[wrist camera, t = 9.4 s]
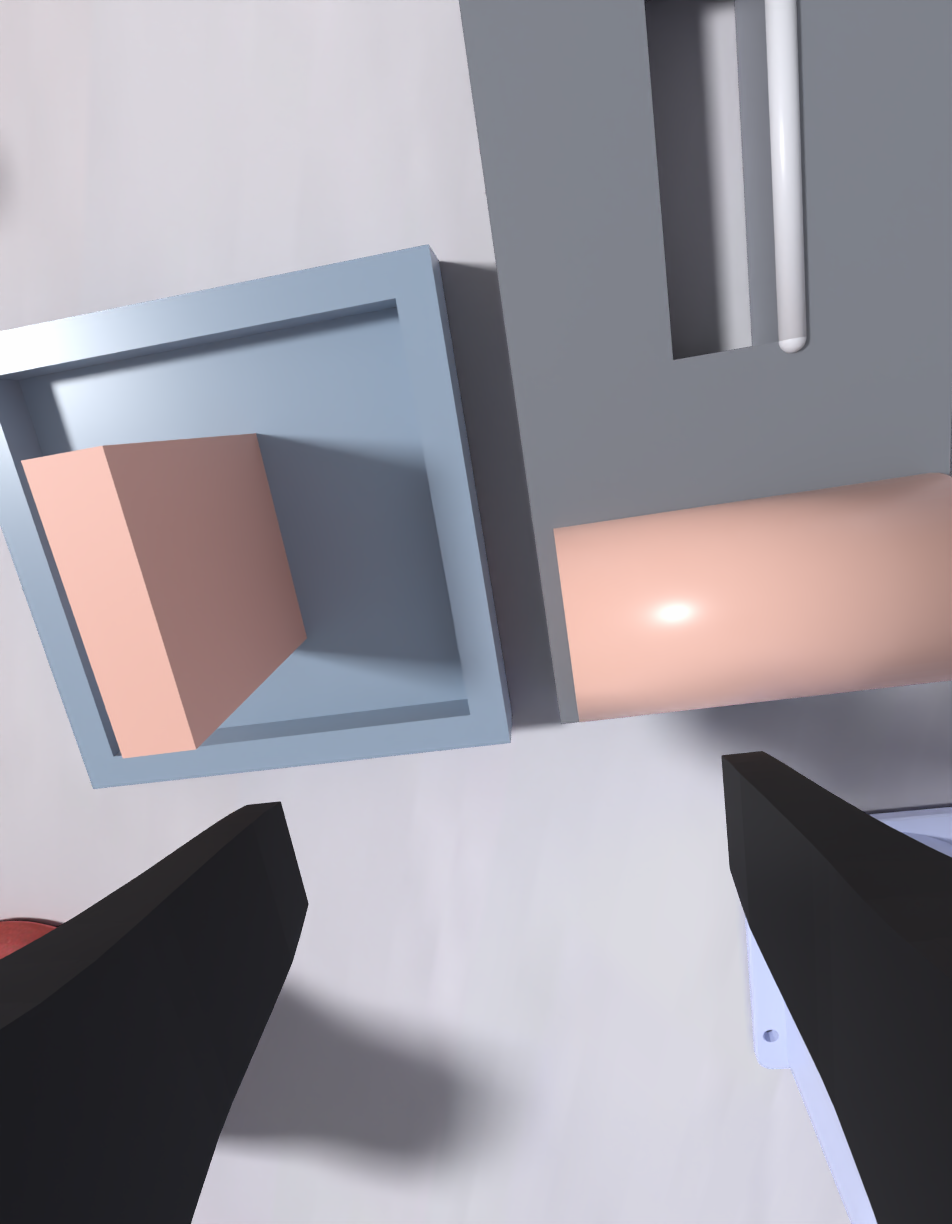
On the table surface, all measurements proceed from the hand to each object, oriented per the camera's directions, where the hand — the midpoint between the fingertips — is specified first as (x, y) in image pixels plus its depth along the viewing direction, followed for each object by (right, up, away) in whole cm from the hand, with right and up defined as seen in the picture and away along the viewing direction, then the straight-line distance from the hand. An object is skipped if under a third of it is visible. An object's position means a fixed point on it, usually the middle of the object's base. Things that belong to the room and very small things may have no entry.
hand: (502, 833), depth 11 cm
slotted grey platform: (+6, +10, +7) cm, 14 cm away
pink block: (-7, +6, +9) cm, 12 cm away
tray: (-7, +6, +9) cm, 13 cm away
